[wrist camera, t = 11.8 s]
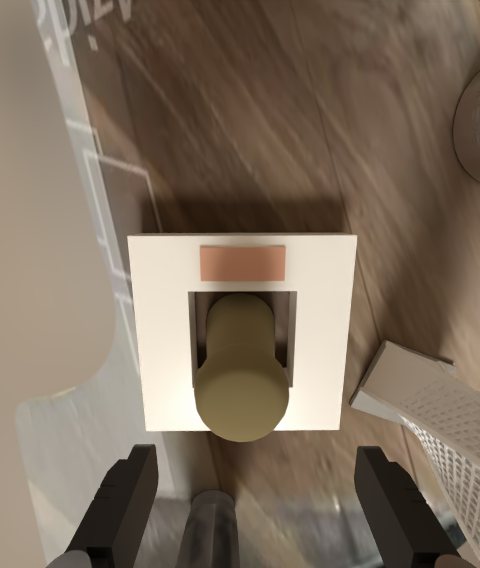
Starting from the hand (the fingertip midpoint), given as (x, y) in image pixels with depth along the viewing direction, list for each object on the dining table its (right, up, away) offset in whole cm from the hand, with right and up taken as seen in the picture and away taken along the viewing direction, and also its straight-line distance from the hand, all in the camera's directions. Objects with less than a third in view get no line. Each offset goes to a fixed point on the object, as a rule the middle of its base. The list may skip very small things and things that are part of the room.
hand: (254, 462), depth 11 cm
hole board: (0, +3, +13) cm, 14 cm away
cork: (-1, +3, +14) cm, 14 cm away
